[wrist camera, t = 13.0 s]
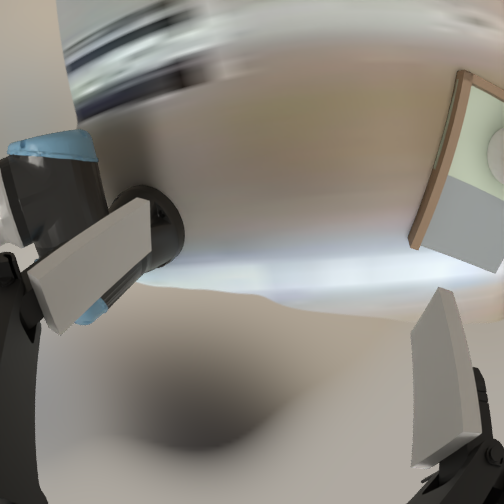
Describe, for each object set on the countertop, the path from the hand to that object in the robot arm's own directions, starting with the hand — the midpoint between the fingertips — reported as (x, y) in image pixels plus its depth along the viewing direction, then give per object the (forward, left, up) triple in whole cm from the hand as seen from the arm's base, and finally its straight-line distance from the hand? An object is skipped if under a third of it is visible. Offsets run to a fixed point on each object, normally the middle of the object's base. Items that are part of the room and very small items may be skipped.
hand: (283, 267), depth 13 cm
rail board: (+21, +3, -29) cm, 36 cm away
